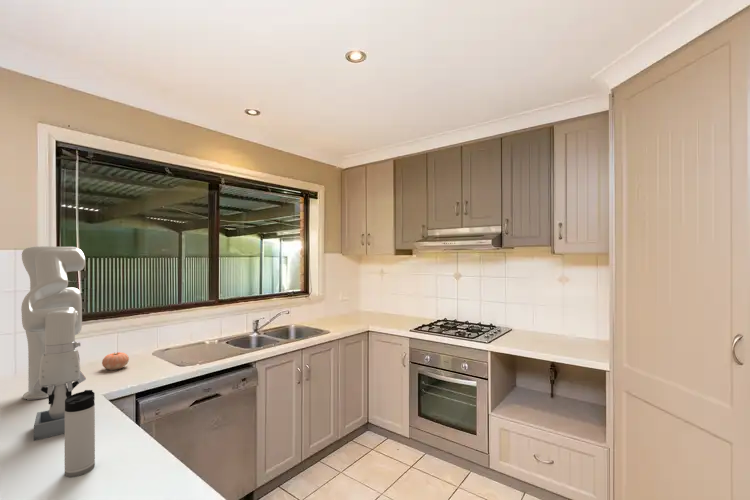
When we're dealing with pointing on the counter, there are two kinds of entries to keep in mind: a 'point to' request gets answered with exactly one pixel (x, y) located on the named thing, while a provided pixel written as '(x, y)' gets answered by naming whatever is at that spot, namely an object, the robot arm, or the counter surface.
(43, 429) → the box
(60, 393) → the salt shaker
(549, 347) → the counter surface
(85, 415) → the travel mug
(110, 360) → the orange pumpkin
